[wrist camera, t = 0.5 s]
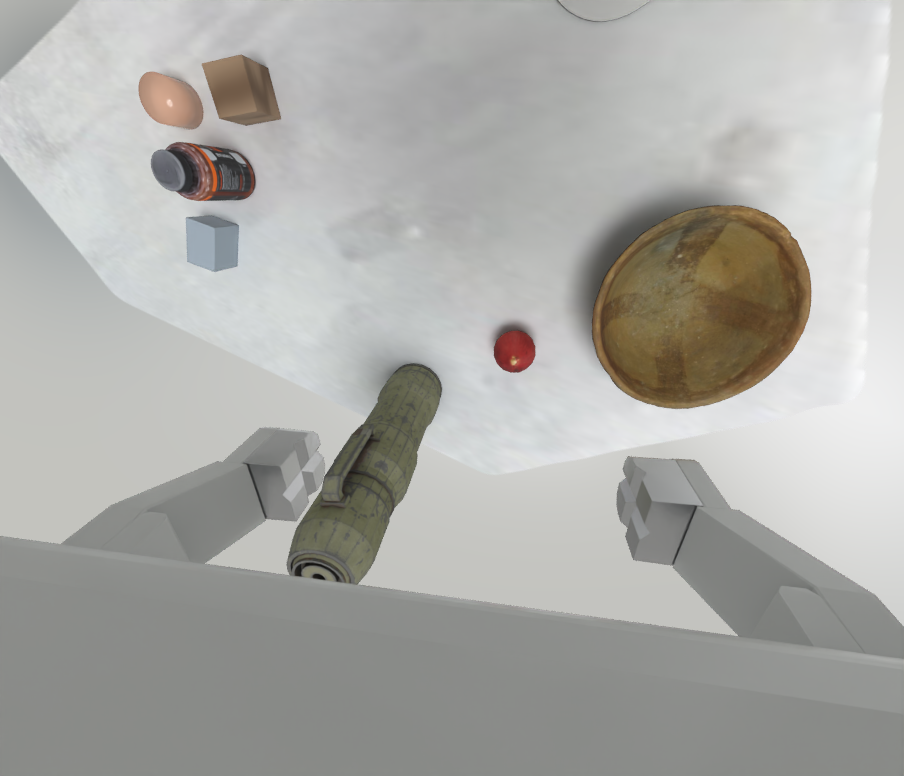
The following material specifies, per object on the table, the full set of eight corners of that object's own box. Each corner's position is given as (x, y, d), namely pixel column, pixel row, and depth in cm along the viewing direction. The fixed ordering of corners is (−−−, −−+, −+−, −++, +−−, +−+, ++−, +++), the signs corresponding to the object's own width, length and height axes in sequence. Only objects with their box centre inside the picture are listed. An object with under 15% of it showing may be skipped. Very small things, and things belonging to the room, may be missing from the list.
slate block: (212, 215, 53) (185, 217, 49) (239, 225, 54) (214, 228, 49) (212, 256, 56) (187, 261, 52) (237, 265, 56) (214, 271, 52)
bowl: (787, 198, 43) (858, 199, 34) (728, 377, 53) (771, 413, 44) (589, 207, 46) (607, 210, 37) (570, 374, 56) (581, 407, 48)
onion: (533, 360, 56) (536, 383, 49) (495, 360, 57) (493, 384, 50) (534, 322, 54) (537, 342, 46) (494, 324, 55) (491, 343, 47)
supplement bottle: (243, 143, 48) (173, 129, 38) (264, 192, 51) (203, 192, 41) (207, 158, 50) (130, 148, 40) (229, 205, 52) (162, 207, 42)
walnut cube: (232, 76, 45) (201, 63, 41) (268, 68, 44) (241, 54, 40) (246, 125, 47) (219, 118, 43) (281, 119, 47) (257, 111, 42)
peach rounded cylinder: (162, 78, 46) (133, 68, 43) (199, 84, 46) (173, 75, 43) (171, 126, 49) (144, 120, 45) (206, 132, 48) (182, 127, 45)
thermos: (400, 420, 65) (298, 622, 34) (381, 358, 60) (242, 530, 29) (449, 415, 63) (387, 625, 32) (434, 351, 58) (343, 527, 27)
